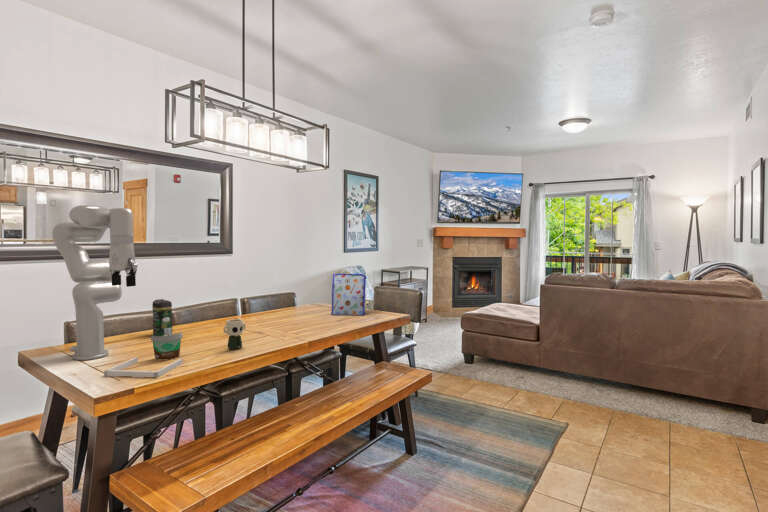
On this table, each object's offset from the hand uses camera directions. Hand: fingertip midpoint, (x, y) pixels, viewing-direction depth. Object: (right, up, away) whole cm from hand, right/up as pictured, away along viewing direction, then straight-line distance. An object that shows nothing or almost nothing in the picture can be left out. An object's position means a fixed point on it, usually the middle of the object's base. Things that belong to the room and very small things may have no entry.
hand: (123, 285), depth 160 cm
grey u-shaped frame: (+8, -32, +1) cm, 33 cm away
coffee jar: (-14, -30, +55) cm, 64 cm away
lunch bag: (+76, -27, +120) cm, 144 cm away
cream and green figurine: (+31, -31, +32) cm, 54 cm away
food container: (+9, -32, +16) cm, 37 cm away
